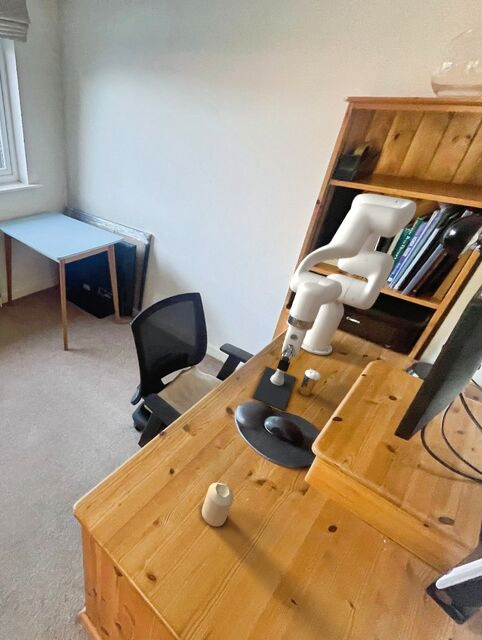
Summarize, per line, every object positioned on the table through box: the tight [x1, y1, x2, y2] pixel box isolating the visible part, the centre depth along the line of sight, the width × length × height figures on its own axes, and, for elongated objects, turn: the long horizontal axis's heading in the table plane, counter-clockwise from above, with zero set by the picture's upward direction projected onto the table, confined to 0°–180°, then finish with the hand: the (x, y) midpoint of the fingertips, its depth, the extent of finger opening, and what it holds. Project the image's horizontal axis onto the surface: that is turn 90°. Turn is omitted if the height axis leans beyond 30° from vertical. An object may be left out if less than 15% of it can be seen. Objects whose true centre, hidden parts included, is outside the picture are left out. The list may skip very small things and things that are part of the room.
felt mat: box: [252, 366, 296, 412], centre depth 120 cm, size 20×10×1 cm, turn 146°
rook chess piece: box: [270, 368, 285, 386], centre depth 120 cm, size 4×4×8 cm
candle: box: [201, 482, 235, 528], centre depth 79 cm, size 6×6×10 cm
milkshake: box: [299, 363, 322, 397], centre depth 117 cm, size 4×5×10 cm
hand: (284, 362), depth 118 cm, fingers open, 9 cm apart
